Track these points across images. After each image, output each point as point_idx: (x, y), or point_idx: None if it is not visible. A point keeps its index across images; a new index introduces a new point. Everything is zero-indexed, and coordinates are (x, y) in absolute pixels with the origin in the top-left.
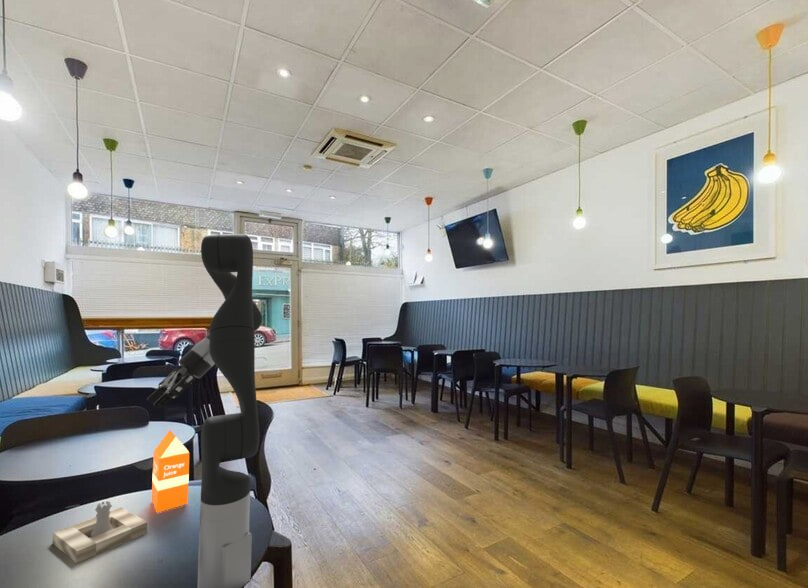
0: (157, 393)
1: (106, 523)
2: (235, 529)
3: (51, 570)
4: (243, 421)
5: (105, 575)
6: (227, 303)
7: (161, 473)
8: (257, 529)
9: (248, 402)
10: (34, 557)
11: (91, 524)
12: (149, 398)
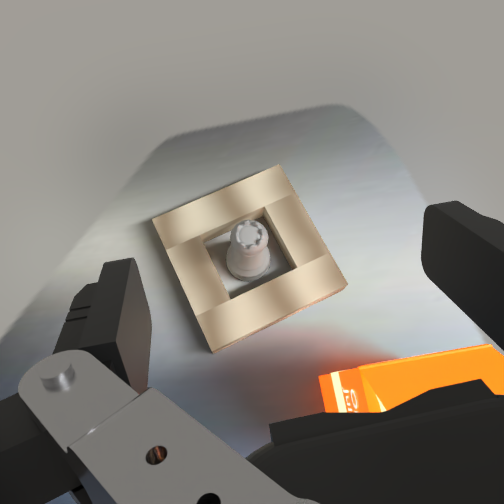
0: (481, 273)
1: (237, 258)
2: None
3: (156, 193)
4: None
5: (67, 283)
6: None
7: (345, 380)
8: None
9: None
10: (232, 158)
11: (277, 229)
12: (435, 218)
